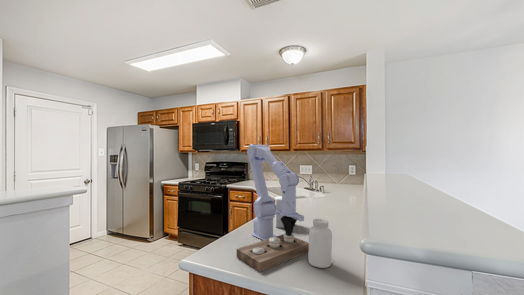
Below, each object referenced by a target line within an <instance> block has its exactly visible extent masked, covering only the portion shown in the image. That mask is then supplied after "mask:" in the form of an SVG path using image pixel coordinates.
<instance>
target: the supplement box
mask: <svg viewBox="0 0 524 295" xmlns="http://www.w3.org/2000/svg"><path fill="white" fill-rule="evenodd" d="M274 203H275V204H276V206H277V209H281V210H282V195H281V196H280V195H279V196H275V199H274ZM282 217H283V216H281V215H279V214H276V215H275V217H274V218H275V219H274V223H275V227H276V228H279V229H280V228H283V229H285V228H284V225H283V223H282V221H281V218H282Z"/></svg>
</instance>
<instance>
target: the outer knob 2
mask: <svg viewBox="0 0 524 295" xmlns="http://www.w3.org/2000/svg"><path fill="white" fill-rule="evenodd" d="M283 234H284V235H283ZM283 234H282V235H283V237H284V243H287V244H292V243H294V237H295V234H294V233H292V235H290V236H287V235H286V232H285V233H283Z"/></svg>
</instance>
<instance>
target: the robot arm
mask: <svg viewBox="0 0 524 295" xmlns="http://www.w3.org/2000/svg"><path fill="white" fill-rule="evenodd" d="M246 153H247V157H248V163H250V168H251V169H250V170H251V173H252V178H253V183H254V186H255V192H256V196H257V198H256V199H255V201H254V203H253V213H254V215H255V217H254V219H253V233H252V234H251V235H252V236H253V237H255V238H258V239H259V240H261V241H263V240H267V239H269V238H273V237H276V236H277V235H276V234H274V218H275V215H276V214H279V215H281V216H283V217H282V218H281V221H282V223H283V225H284V228H283V229H284V232H285V233H286V235H287V236H290V235H292V234H293V230H294V228H295V225H296V223H297V221H298V222H300V223H301V222H304V221H305V216H304V215H303V214H300V213H298V212H297V186H298V184H299V182H300V178H299V175H298V173H297V172H295V171H292V170H291V169H289V168H288V167H287V166H286V165H285V163H284V161H281V160H279V161H278V160H277V158H276V157H275V155H274V154H273V153H272V152H271V147H270V146H269V144H253V143H250V144H249V146H248V147H247V150H246ZM265 161H266V162H267V163H268V164H269V166H271V171H272V172H273V173H274V175H275V176H276V177H277V178H278V183H279V185H280V190H281V197H282V210H281V209H277V206H276V204H275V199H274V198H273V197H272V196H270V194H269V192H268V187H267V184H266V180H265V176H264V171H263V170H264V169H263V167H262V164H263V163H265Z"/></svg>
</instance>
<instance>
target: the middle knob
mask: <svg viewBox="0 0 524 295" xmlns="http://www.w3.org/2000/svg"><path fill="white" fill-rule="evenodd" d="M269 247H270V248H272V249H274V250H275V249H278V248H280V239H279V238H276V237H273V238H269Z"/></svg>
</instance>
